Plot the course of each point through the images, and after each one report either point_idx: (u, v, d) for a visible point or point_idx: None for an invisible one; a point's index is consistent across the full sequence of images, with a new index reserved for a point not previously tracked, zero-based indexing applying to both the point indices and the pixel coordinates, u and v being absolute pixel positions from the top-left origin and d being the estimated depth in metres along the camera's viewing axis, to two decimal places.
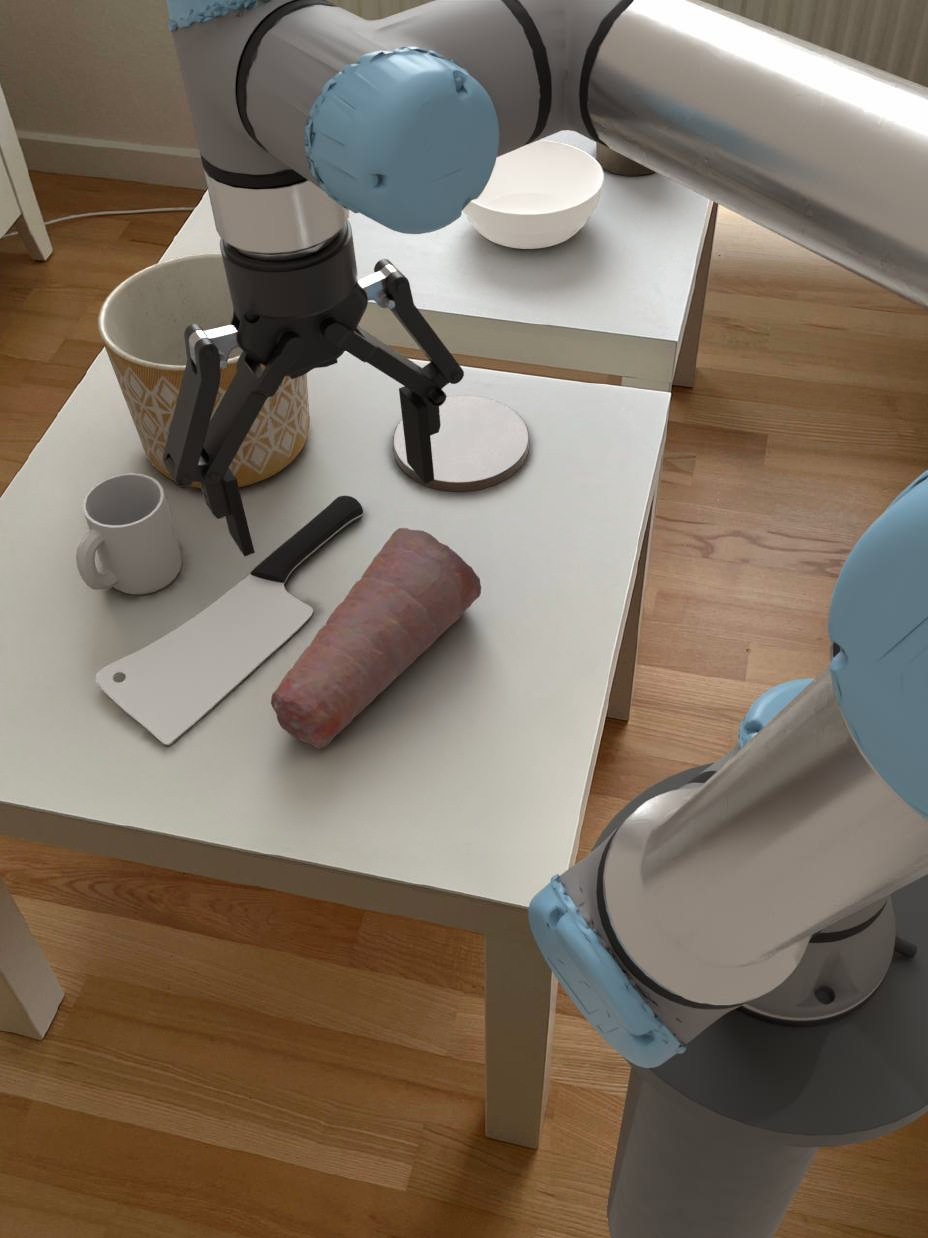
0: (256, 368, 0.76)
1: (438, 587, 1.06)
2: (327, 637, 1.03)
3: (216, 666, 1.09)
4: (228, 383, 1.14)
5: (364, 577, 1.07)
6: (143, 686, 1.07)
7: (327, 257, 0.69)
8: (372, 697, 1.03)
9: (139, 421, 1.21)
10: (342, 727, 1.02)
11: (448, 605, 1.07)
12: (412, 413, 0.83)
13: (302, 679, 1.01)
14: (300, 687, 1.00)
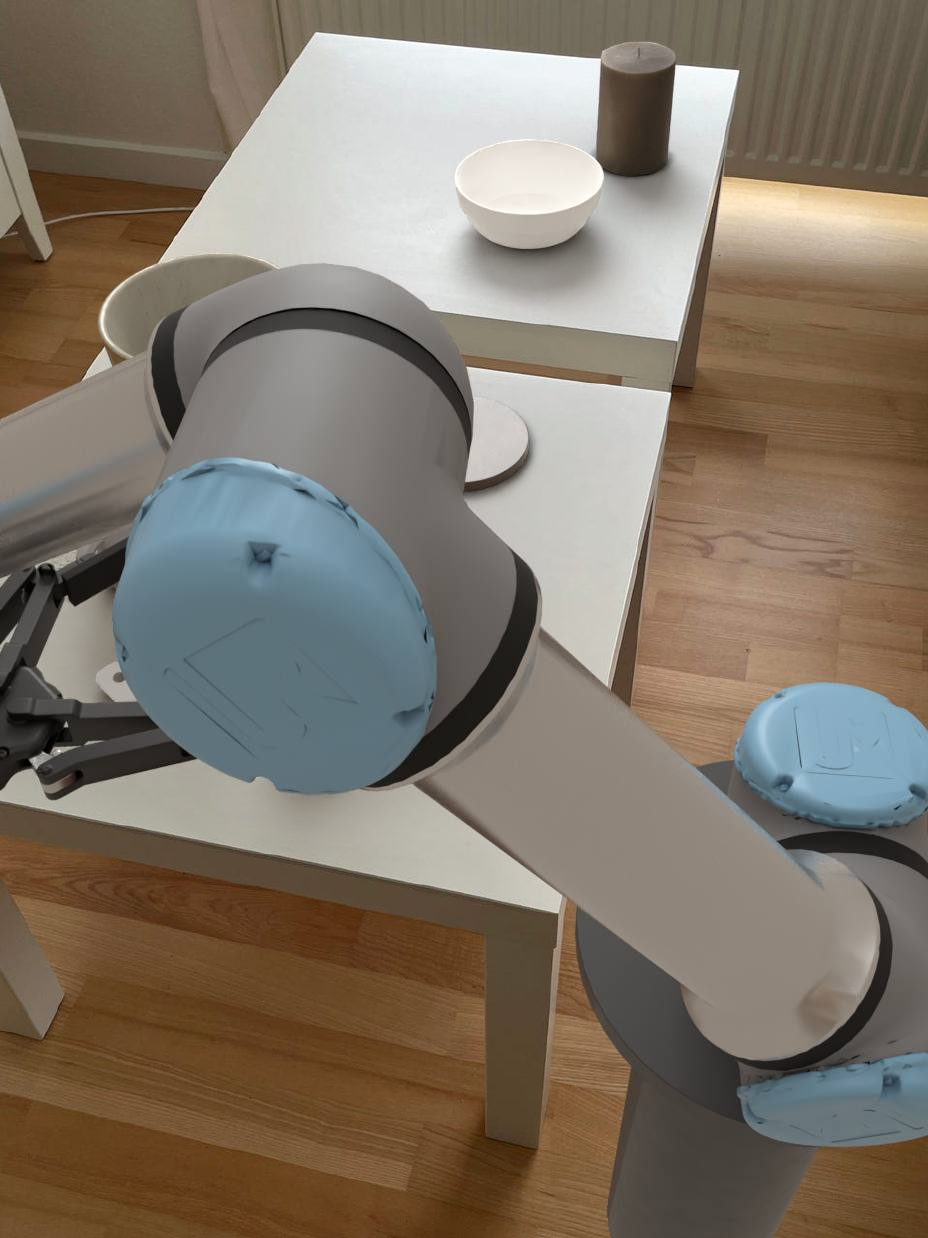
0: None
1: None
2: None
3: None
4: None
5: None
6: None
7: None
8: None
9: None
10: None
11: None
12: (80, 582, 0.86)
13: None
14: None
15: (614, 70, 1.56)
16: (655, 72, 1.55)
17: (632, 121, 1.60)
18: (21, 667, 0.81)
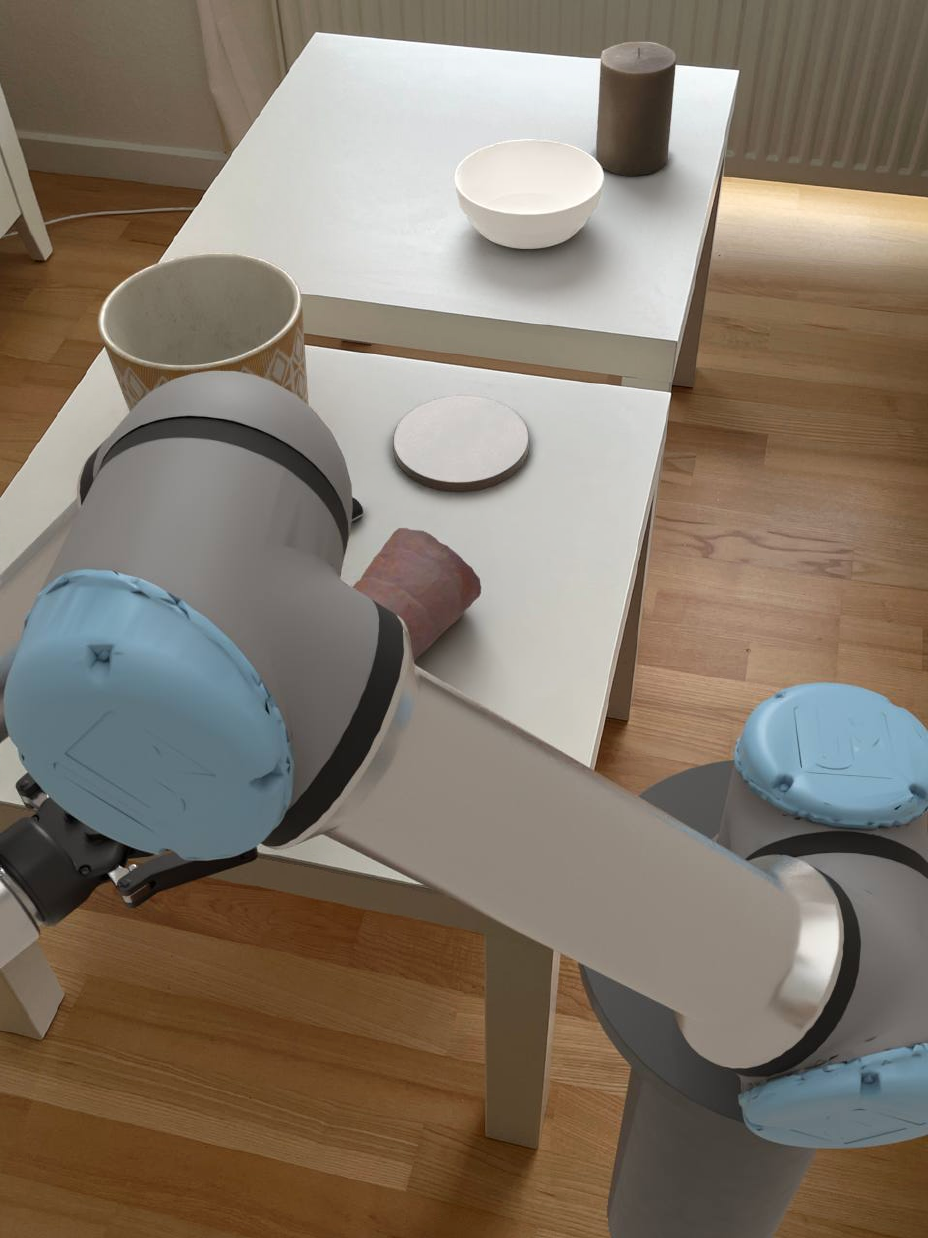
0: None
1: (438, 587, 1.06)
2: None
3: None
4: None
5: (364, 577, 1.07)
6: None
7: None
8: None
9: None
10: None
11: (448, 605, 1.07)
12: None
13: None
14: None
15: (614, 70, 1.56)
16: (655, 72, 1.55)
17: (632, 121, 1.60)
18: None
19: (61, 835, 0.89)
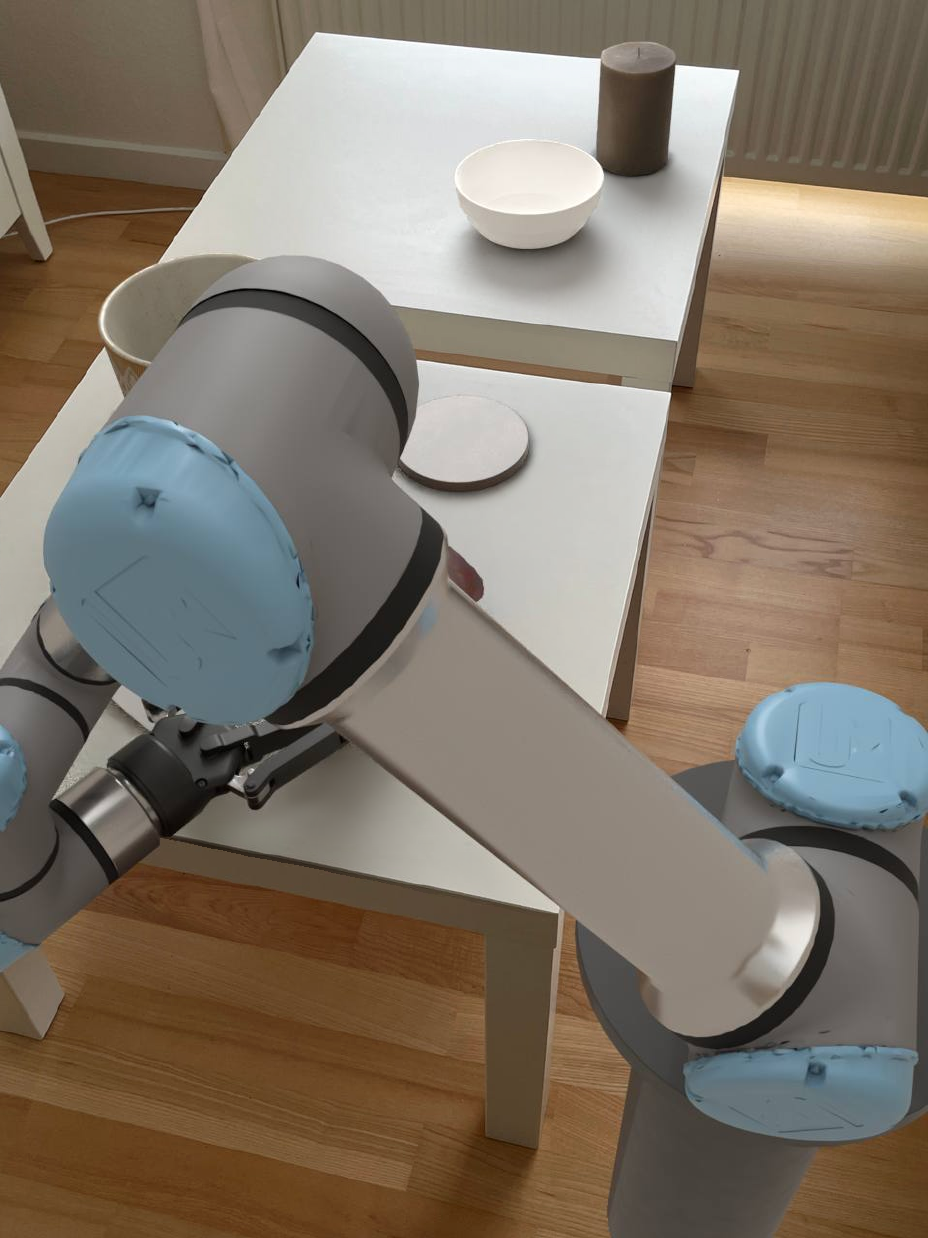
0: (249, 748, 0.96)
1: None
2: None
3: None
4: None
5: None
6: None
7: (121, 763, 0.91)
8: None
9: None
10: None
11: None
12: None
13: None
14: None
15: (614, 70, 1.56)
16: (655, 72, 1.55)
17: (632, 121, 1.60)
18: None
19: (177, 751, 0.94)
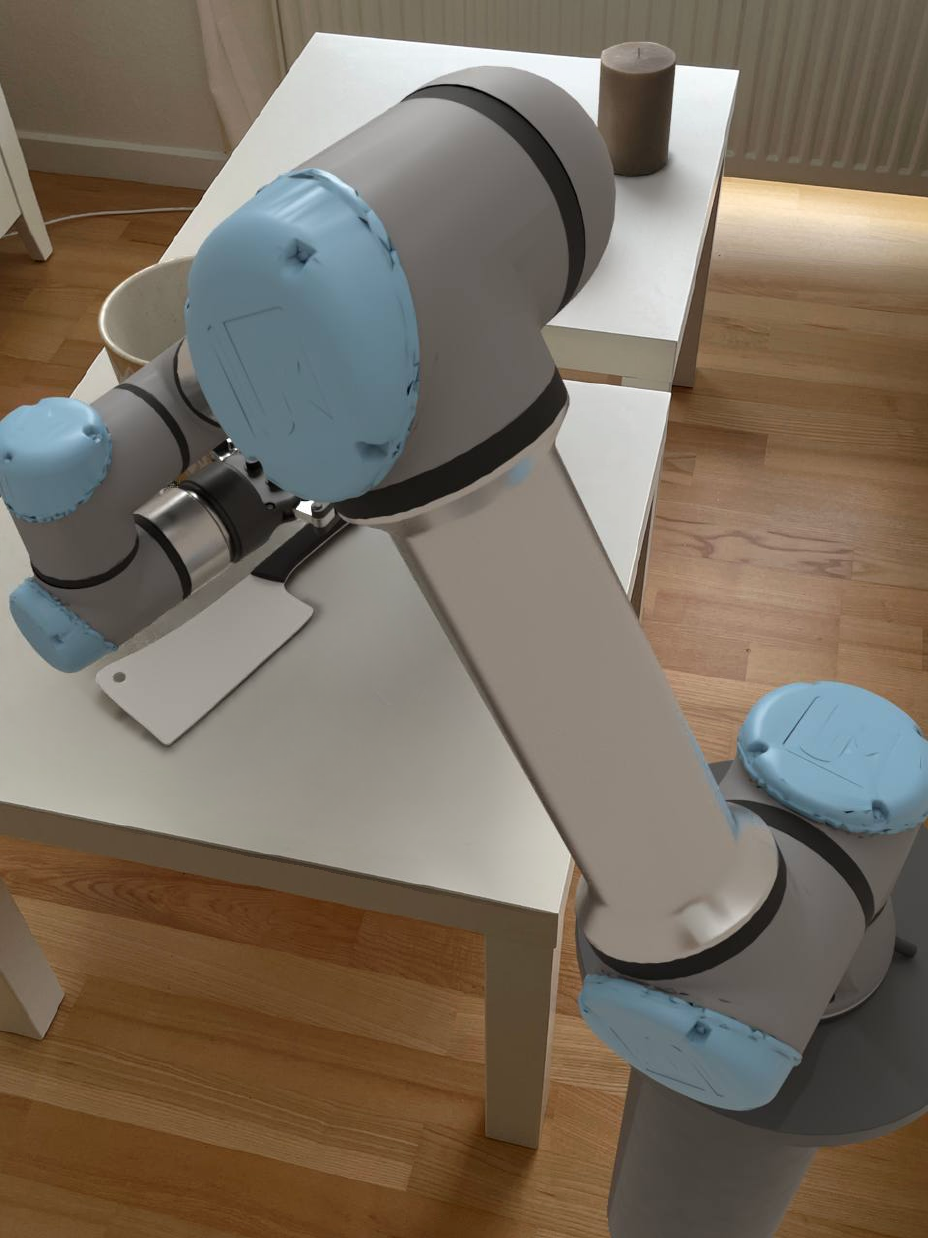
0: None
1: None
2: None
3: (217, 666, 1.09)
4: None
5: None
6: (143, 686, 1.07)
7: (192, 483, 0.94)
8: None
9: None
10: None
11: None
12: None
13: None
14: None
15: (614, 70, 1.56)
16: (655, 72, 1.55)
17: (632, 121, 1.60)
18: None
19: None
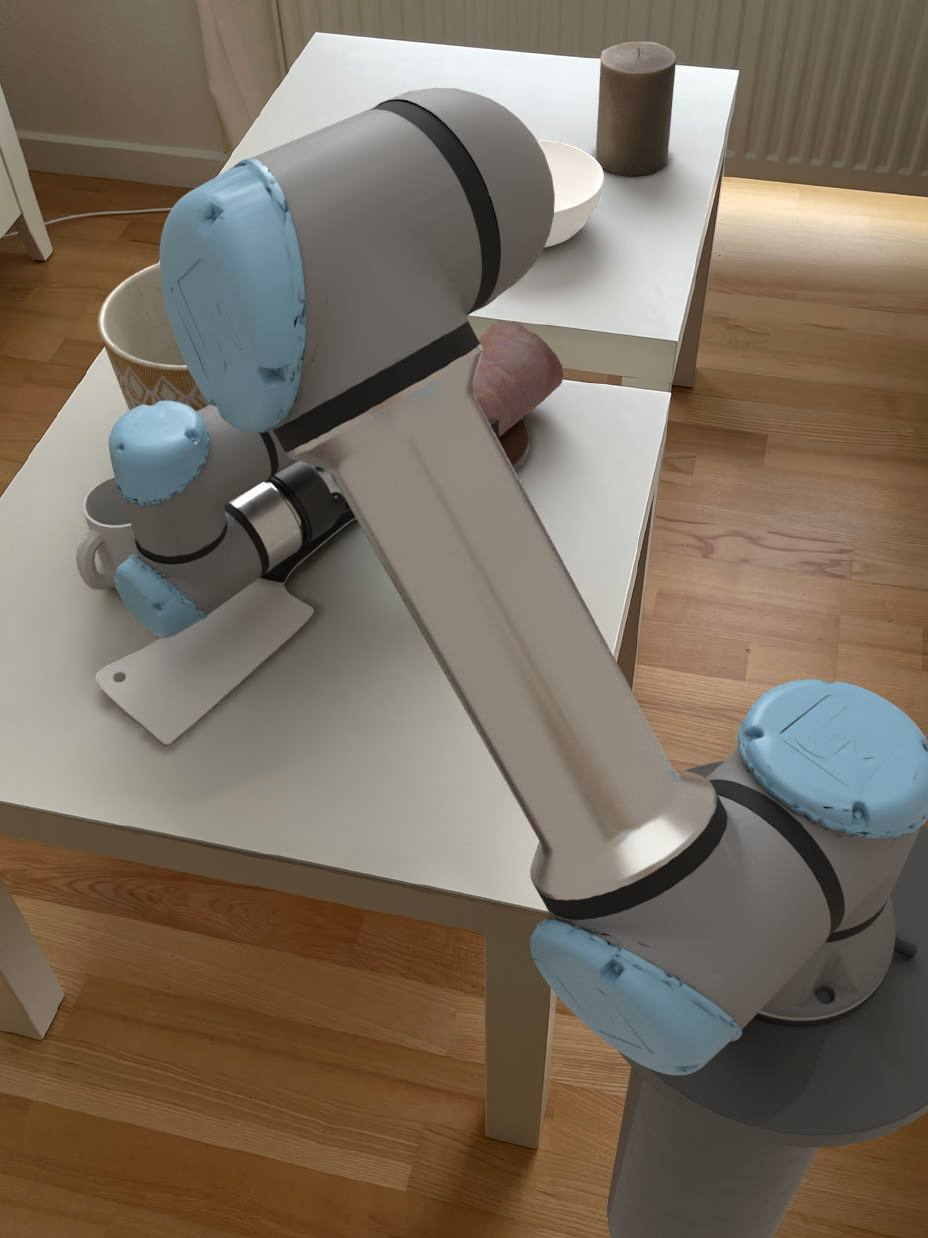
0: None
1: (528, 367, 1.24)
2: None
3: (217, 665, 1.09)
4: None
5: None
6: (143, 686, 1.07)
7: None
8: None
9: None
10: None
11: (535, 384, 1.25)
12: None
13: None
14: None
15: (614, 70, 1.56)
16: (655, 72, 1.55)
17: (632, 121, 1.60)
18: None
19: None
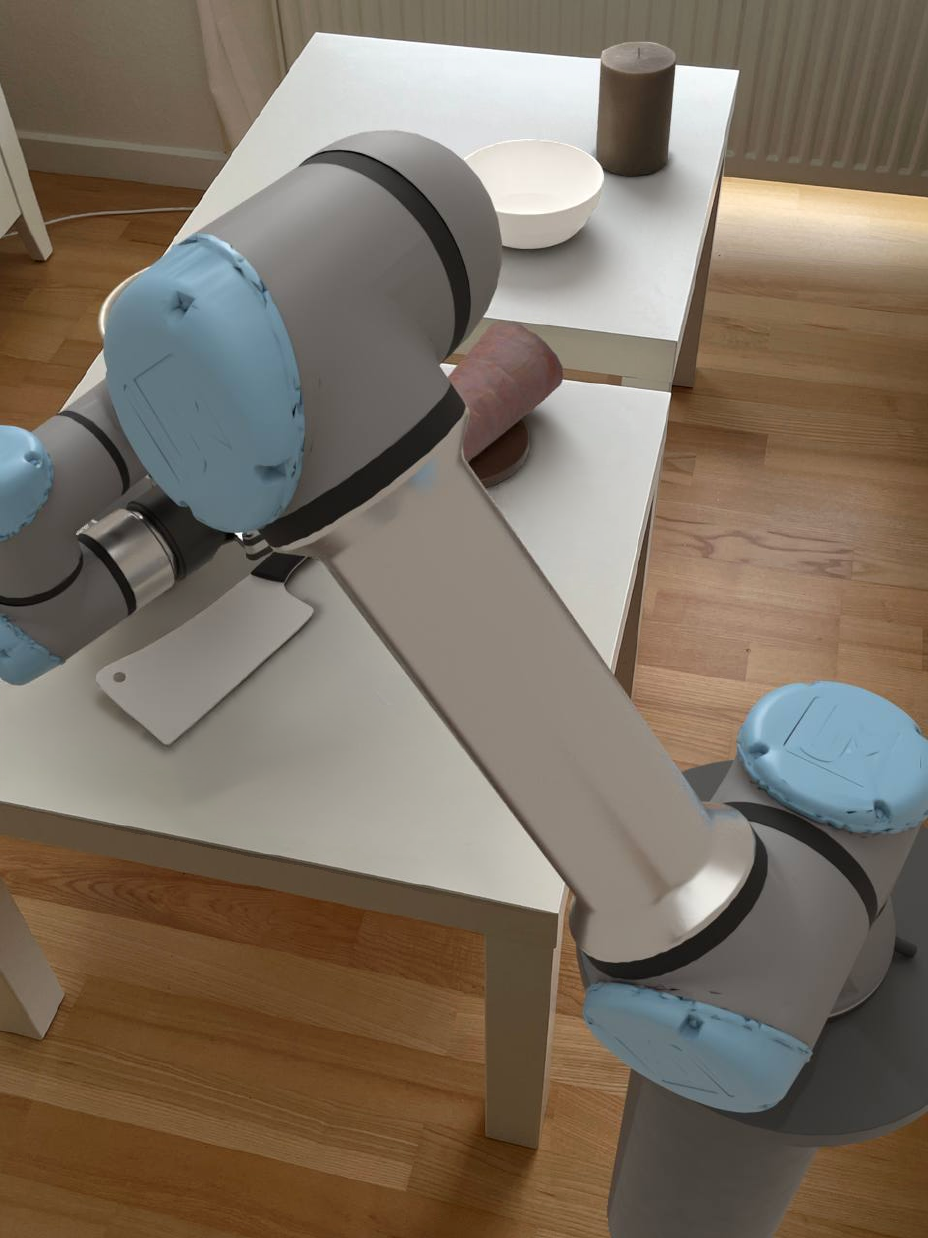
0: None
1: (528, 367, 1.24)
2: None
3: (217, 665, 1.09)
4: None
5: (464, 359, 1.26)
6: (143, 686, 1.07)
7: (139, 504, 0.99)
8: (471, 454, 1.22)
9: None
10: None
11: (535, 384, 1.25)
12: None
13: None
14: None
15: (614, 70, 1.56)
16: (655, 72, 1.55)
17: (632, 121, 1.60)
18: None
19: None
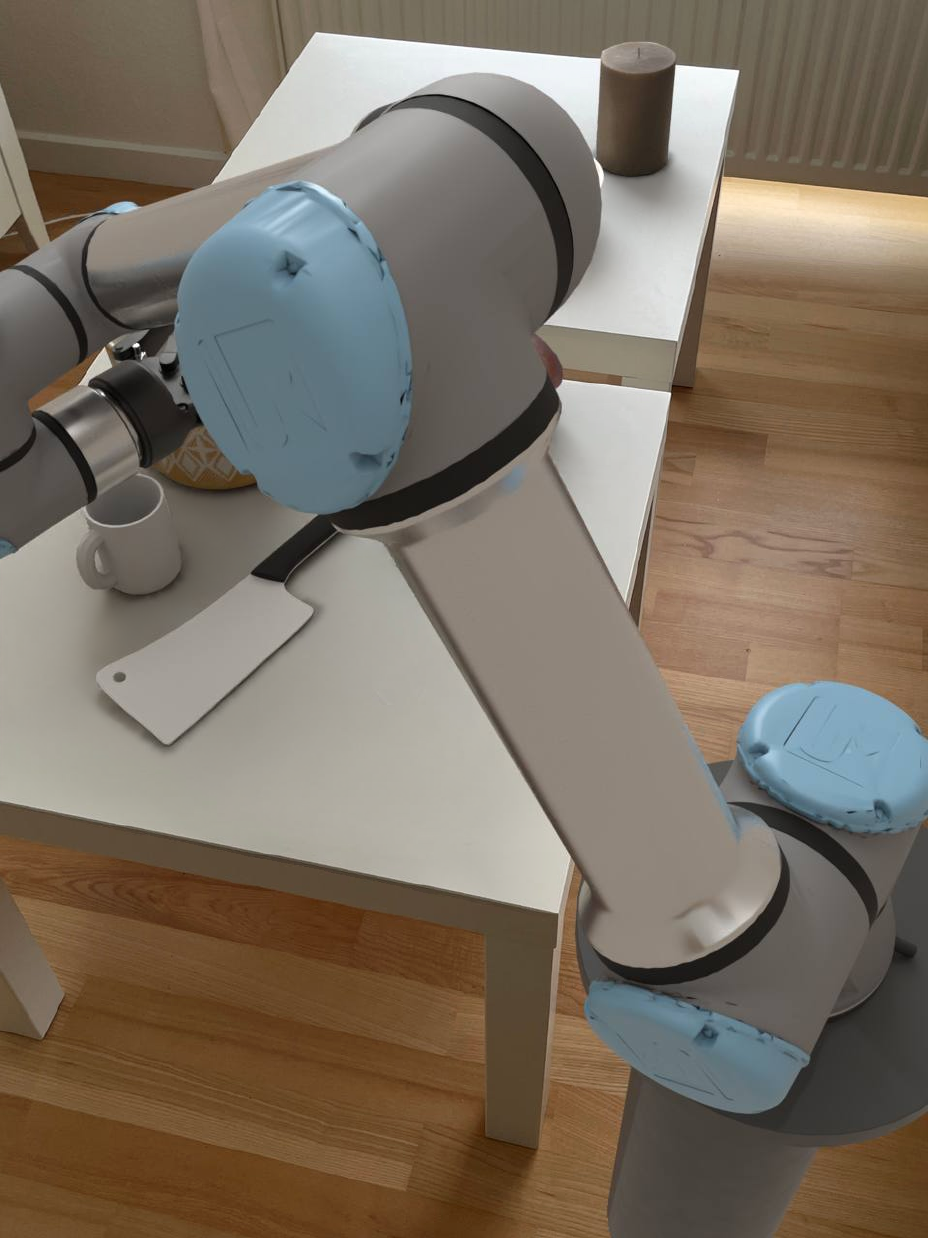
0: None
1: None
2: None
3: (217, 665, 1.09)
4: None
5: None
6: (143, 686, 1.07)
7: (100, 380, 0.90)
8: None
9: None
10: None
11: None
12: None
13: None
14: None
15: (614, 70, 1.56)
16: (655, 72, 1.55)
17: (632, 121, 1.60)
18: None
19: None
